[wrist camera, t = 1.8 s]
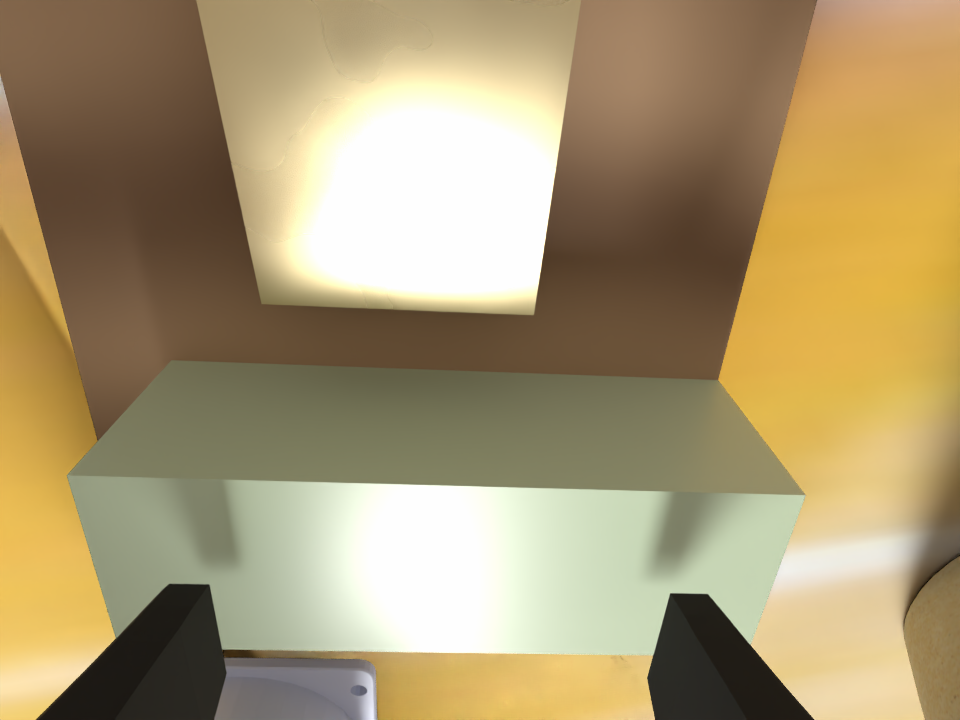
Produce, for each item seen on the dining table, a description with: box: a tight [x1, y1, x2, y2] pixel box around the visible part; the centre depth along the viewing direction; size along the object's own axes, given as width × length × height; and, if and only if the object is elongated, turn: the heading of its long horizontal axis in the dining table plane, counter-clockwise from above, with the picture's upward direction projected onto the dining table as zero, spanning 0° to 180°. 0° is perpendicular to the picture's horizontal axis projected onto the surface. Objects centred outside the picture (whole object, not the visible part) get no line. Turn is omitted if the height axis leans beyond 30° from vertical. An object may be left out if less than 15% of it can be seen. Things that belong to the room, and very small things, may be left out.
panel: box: [0, 0, 817, 441], centre depth 13 cm, size 24×14×4 cm, turn 177°
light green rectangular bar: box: [67, 360, 806, 655], centre depth 13 cm, size 4×12×4 cm, turn 87°
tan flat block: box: [196, 0, 581, 315], centre depth 10 cm, size 6×5×1 cm
